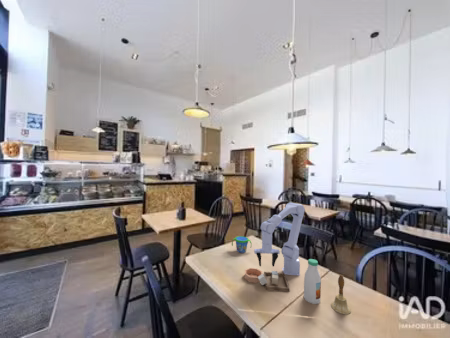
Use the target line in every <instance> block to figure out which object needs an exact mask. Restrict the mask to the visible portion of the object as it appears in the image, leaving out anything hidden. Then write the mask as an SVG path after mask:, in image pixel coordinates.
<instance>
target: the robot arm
mask: <svg viewBox="0 0 450 338" xmlns="http://www.w3.org/2000/svg"><path fill="white" fill-rule="evenodd" d="M305 211H306V209H305V207H304V205H303V204H301V203H295V202H288V203H286V204H285V207H284V208H283V209H282V210H281V211H280V212H279V213H278V214H273V215H272V216H271V217H270V218H269V219H267V221H263V222H261V224H260V230H261V235H262V236H261V248H254V250H253V252H254V254H255V255H256V256H257V260H258V265H259V267H262V254H271V258H272V261H271V265H272V267H275V264H276V261H277V259H278V258H279V255H280V253H281V254H282V257H283V267H282V268H281V269H282V273H285V275H290V276H300V275H301V274H300V272H301V270H300V268H301V264H300V259H299V258H300V248H299V246H298V245H297V243H298V238H299V235H300V231H301V227H302V222H303V219H304V215H305ZM289 215H291V216H292V217H293V218H292V222H291V227H290V231H289V236H288V240H287V241H285V242H284V243H283V247H282V248H281V251H280V249H275V248H273V233H274V232H275V229H276V228H277V227H278V226H279V225H280V224H281V223H282V222H283V219H285V217H287V216H289Z"/></svg>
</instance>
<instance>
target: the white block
mask: <svg viewBox="0 0 450 338" xmlns="http://www.w3.org/2000/svg"><path fill="white" fill-rule="evenodd" d="M258 279H259V281H260V282H259V283H260V285H261V286H265V283H267V280H266V279H265V277H264V273H263V274H261V275H260V276H258Z"/></svg>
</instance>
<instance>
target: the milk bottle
mask: <svg viewBox="0 0 450 338" xmlns="http://www.w3.org/2000/svg"><path fill="white" fill-rule="evenodd" d="M318 267H319V262H318V260H317V259H315V258H314V259H313V258H309V259H308V260H307V268H306V270H305V273H304V281H303V298H304V300H305V301H306V302H308V303H309V304H313V305H319V304H320V303H321V295H322V293H321V292H322V289H321V287H322V285H321V284H322V277H321V274H320V272H319V269H318Z"/></svg>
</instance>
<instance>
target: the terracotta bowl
mask: <svg viewBox="0 0 450 338" xmlns="http://www.w3.org/2000/svg"><path fill="white" fill-rule="evenodd" d="M261 274H263V275H264V272H263V271H262V270H260V269H258V268H255V267H249V268H246V269H244V280H246V281H248V282H249V283H254V284H258V283H260V281H259V279H258V276H260V275H261Z"/></svg>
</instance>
